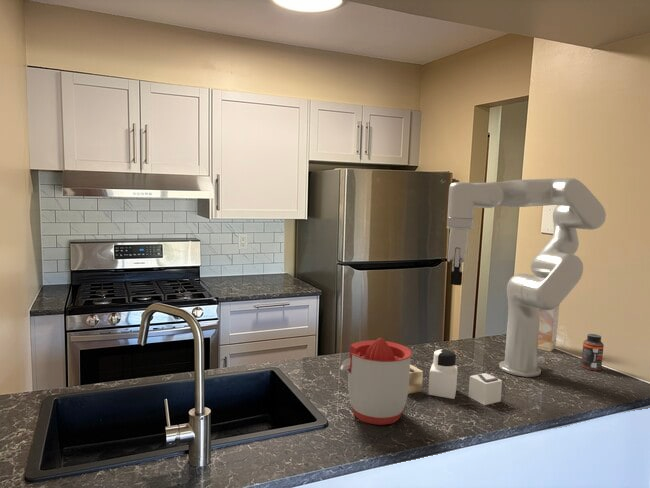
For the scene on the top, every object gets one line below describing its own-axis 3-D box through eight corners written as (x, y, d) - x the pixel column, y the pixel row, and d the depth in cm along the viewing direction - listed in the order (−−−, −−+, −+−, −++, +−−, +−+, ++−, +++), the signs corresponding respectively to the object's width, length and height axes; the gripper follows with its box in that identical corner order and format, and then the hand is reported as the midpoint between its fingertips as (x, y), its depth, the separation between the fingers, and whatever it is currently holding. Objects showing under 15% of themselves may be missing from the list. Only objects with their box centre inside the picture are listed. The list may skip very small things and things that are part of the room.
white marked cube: (484, 393, 136) (485, 372, 135) (500, 401, 130) (502, 379, 130) (468, 396, 133) (469, 375, 132) (484, 405, 127) (486, 382, 127)
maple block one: (408, 383, 141) (409, 363, 140) (421, 391, 135) (423, 370, 135) (392, 386, 138) (393, 365, 137) (404, 394, 132) (405, 373, 132)
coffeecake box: (509, 342, 185) (513, 293, 183) (515, 339, 190) (519, 291, 188) (550, 352, 175) (555, 300, 173) (556, 347, 180) (560, 297, 178)
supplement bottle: (599, 372, 155) (602, 339, 154) (579, 368, 159) (582, 335, 158) (603, 368, 160) (606, 335, 159) (583, 363, 164) (586, 331, 162)
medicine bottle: (456, 389, 137) (458, 349, 136) (454, 399, 130) (457, 357, 129) (431, 385, 139) (433, 346, 138) (428, 395, 133) (430, 353, 131)
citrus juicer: (338, 400, 127) (341, 327, 125) (403, 403, 127) (407, 330, 125) (338, 428, 112) (341, 345, 110) (412, 432, 111) (417, 349, 109)
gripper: (448, 222, 150) (444, 279, 152) (445, 224, 136) (441, 287, 138) (473, 223, 148) (469, 281, 150) (472, 226, 133) (468, 290, 135)
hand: (456, 284), depth 144 cm, fingers closed
